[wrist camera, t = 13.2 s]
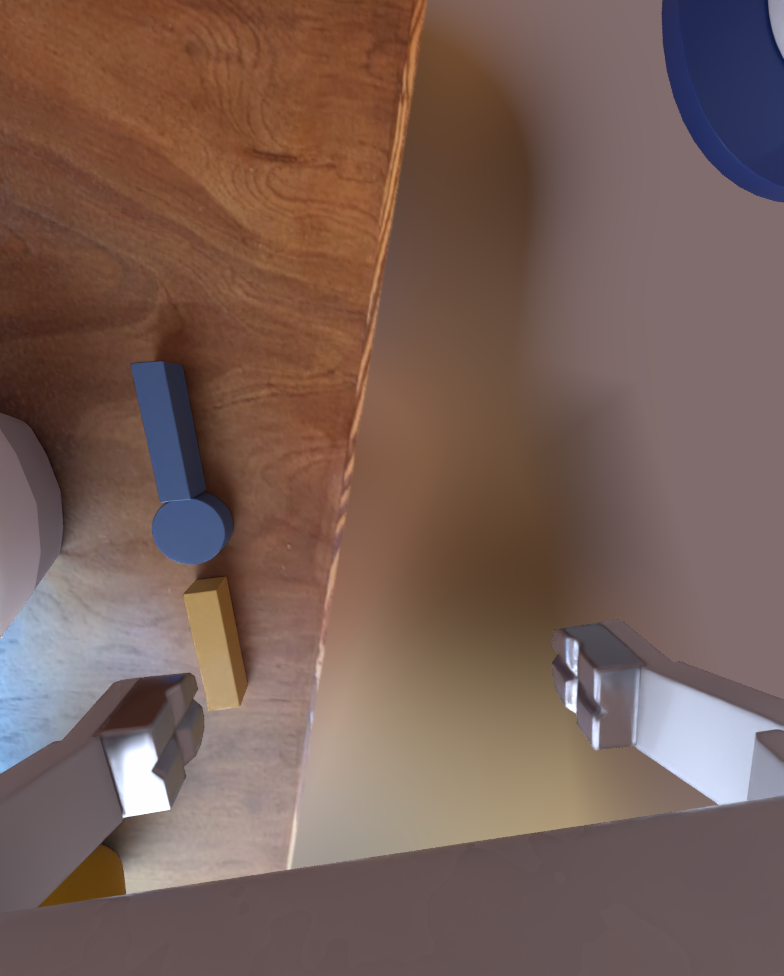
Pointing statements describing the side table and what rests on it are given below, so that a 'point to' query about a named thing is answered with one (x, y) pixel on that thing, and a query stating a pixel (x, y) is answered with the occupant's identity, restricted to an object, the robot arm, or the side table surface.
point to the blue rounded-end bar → (178, 468)
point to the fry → (216, 642)
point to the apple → (91, 879)
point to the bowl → (25, 517)
